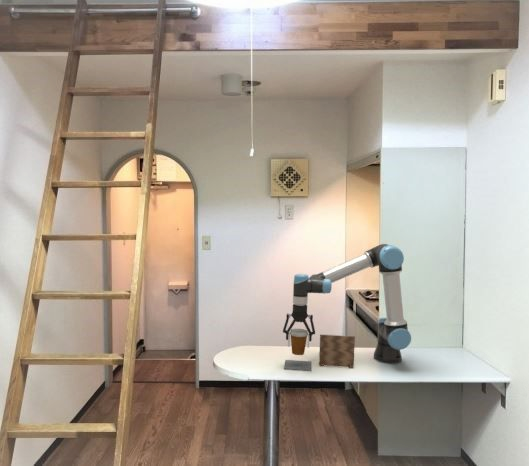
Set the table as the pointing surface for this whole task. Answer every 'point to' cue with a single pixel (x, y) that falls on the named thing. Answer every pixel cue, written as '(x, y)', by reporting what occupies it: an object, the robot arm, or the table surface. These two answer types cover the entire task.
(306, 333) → the disposable coffee cup
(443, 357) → the table surface
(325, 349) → the screen
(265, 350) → the table surface
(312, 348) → the table surface
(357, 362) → the table surface
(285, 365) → the mat
